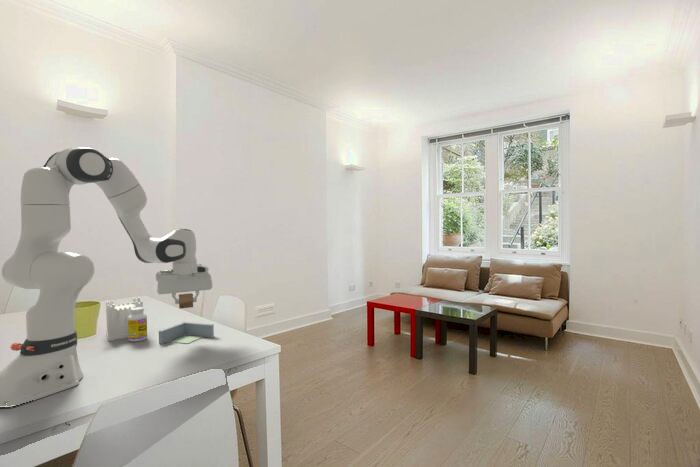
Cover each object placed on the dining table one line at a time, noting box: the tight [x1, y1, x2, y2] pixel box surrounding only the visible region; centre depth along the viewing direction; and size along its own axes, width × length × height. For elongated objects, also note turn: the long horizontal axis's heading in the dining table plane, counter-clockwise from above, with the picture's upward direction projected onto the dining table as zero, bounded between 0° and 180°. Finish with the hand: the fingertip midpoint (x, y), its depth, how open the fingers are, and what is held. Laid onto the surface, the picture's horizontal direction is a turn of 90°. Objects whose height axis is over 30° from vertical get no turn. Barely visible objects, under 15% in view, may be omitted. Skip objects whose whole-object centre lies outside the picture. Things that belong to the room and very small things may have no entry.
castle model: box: [105, 296, 144, 342], centre depth 155 cm, size 13×15×14 cm
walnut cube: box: [178, 292, 194, 309], centre depth 145 cm, size 5×5×5 cm
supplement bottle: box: [128, 306, 148, 343], centre depth 146 cm, size 7×7×13 cm
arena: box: [158, 321, 215, 345], centre depth 145 cm, size 14×15×5 cm
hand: (186, 302), depth 145 cm, fingers closed on walnut cube, 5 cm apart
